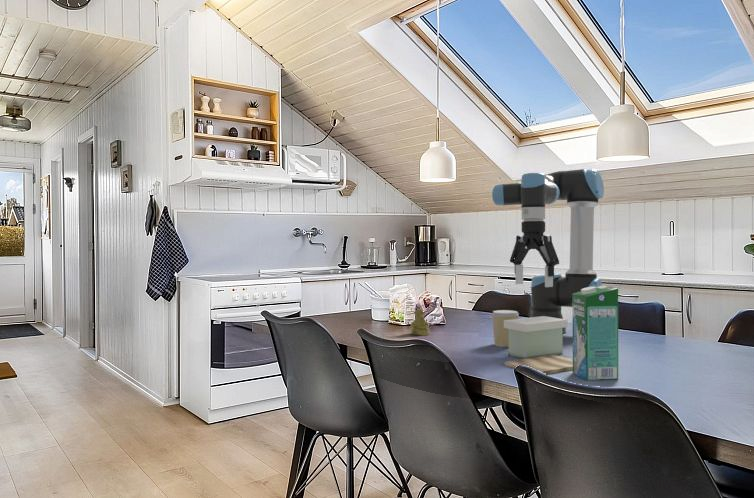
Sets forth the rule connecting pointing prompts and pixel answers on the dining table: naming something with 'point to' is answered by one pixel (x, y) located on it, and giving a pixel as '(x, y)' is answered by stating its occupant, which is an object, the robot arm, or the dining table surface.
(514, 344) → the box
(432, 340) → the dining table surface
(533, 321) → the lid
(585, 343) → the milk carton
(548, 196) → the robot arm
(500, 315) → the coffee cup
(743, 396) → the dining table surface
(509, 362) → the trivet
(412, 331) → the olive green tiered cone
